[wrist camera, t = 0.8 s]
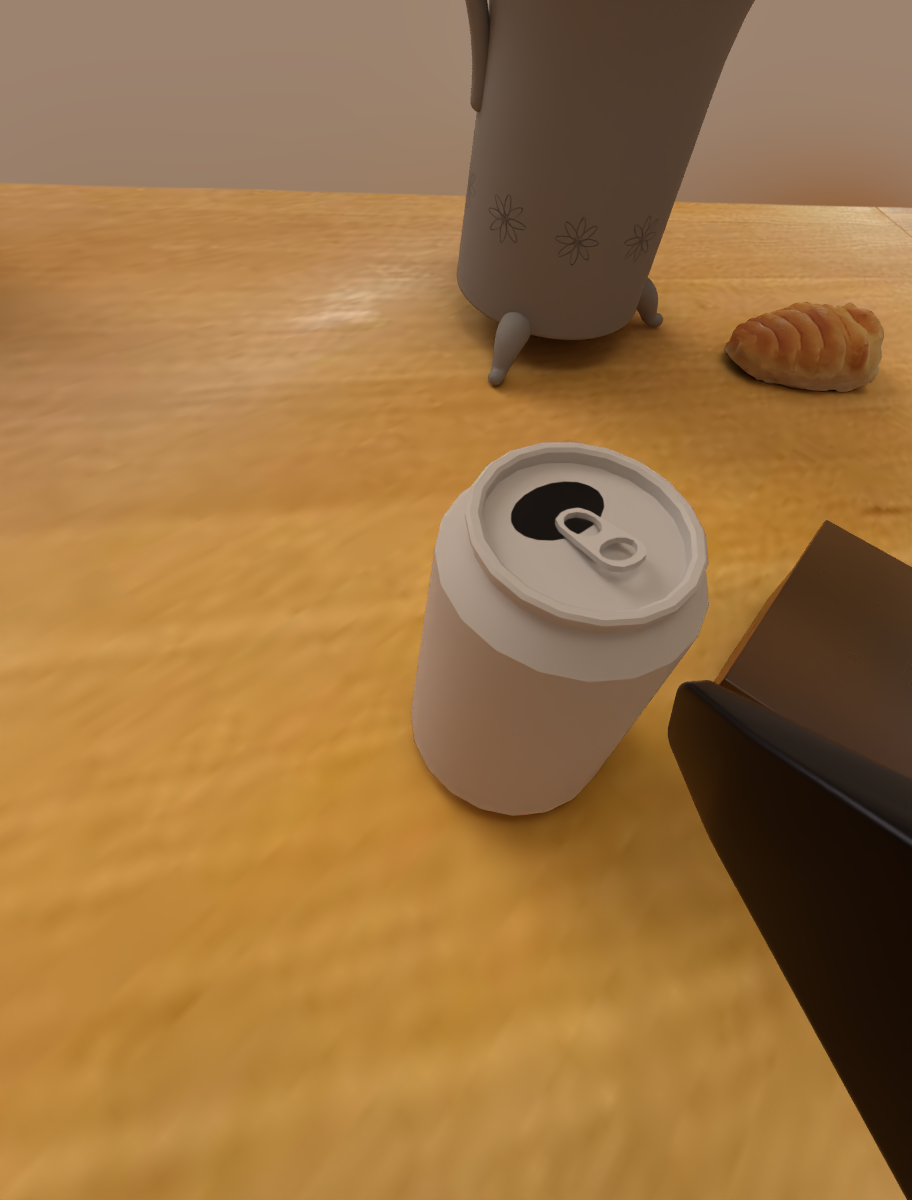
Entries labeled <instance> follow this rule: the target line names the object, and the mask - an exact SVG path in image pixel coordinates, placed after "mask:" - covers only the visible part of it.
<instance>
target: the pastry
mask: <svg viewBox="0 0 912 1200" xmlns="http://www.w3.org/2000/svg"><path fill="white" fill-rule="evenodd" d="M883 338H884V331H883V328H882V326H881V324H880V321H879V320H878V319H877V317H876V316H875V315H874V313H873V312H872V311H869V310H866V309H861V308H857V307H856V306H855V305H854V304H852V303H848V304H846V305H844V306H836V307H835V306H832V305H826V304H824V305H819V304H812V303H809V302H804V303H795V304H792V305H791V306H789V307H787V308H784V309H781V310H777V311H774V312H771V313H766V314H763V315H760V316H758V317H756V318H752V319H749V320H748V321H747V322H745V323H742V324H740V325H738V326H737V327H736V329H735V330H734V332H733V334H732V336H731V339H730V341H729V342H728V343H726V345H725V349H724V350H725V351H726V352H727V353H728V355H729V356H730V358H731V359H732V360H733V361H734V362H735V363H736V364H737V365H739V366H740V367H741V368H742V369H743V370H744V371H745V372H746V373H748V374H749V375H751V376H753V377H755V378H756V380H764V382H766V383H769V384H772V383H778V384H782V385H785V386H788V387H789V388H799V389H807V390H814V391H827V390H830V389H833V390H837V391H838V392H848V391H851V390H853V389H856V388H859V387H861V386H863V385H866V384H868V383H871V382H872V381H873V380H874V379H875V378H876V376H877V374H878V371H879V367H878V366H879V362H880V360H881V358H882V351H881V344H882V341H883Z"/></svg>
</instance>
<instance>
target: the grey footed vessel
mask: <svg viewBox="0 0 912 1200" xmlns="http://www.w3.org/2000/svg"><path fill="white" fill-rule="evenodd" d="M465 1H466V5H467V12H468V18H469V24H470V34H471V45H472V88H471V106H472V108H473V109H474V110H475V111H477V115H476V123H475V131H474V138H473V147H472V155H471V163H470V171H469V180H468V188H467V195H466V203H465V211H464V220H463V228H462V236H461V244H460V252H459V260H458V268H457V280H458V284H459V287H460V289H461V291H462V293H463V294H464V296H465V297H466V298H467V300H468V301H469V302H470V303H471V304H472V305H473V306H474V307H475V308H476V309H478V310H479V311H480V312H482V313H483V314H484V315H486V316H487V317H489V318H491V319H492V320H494V321H496V322H498V323H499V325H498V328H497V331H496V336H495V342H494V352H493V364H492V369H491V372H490V374H489V376H488V380H489V382H490V383H491V384H492V385H498V384H500V383H501V381H502V380H503V378H504V377H505V375H506V374H507V372H508V370H509V368H510V366H511V365H512V363H513V361H514V360H515V358H516V357H517V355H518V354H519V352H520V351H521V349H522V348H523V346H524V345H525V343H526V342H527V340H528V339H529V337H530V335H534V336H539V337H544V338H550V339H559V340H584V339H592V338H597V337H601V336H605V335H608V334H611V333H613V332H615V331H617V330H619V329H621V328H622V327H624V326H625V325H626V324H627V323H628V322H629V321H630V320H631V319H632V317H633V316H634V314H635V311H636V309H637V311H638V312H639V314H640V316H641V318H642V320H643V322H644V323H645V324H647V325H649V326H653V327H657V326H660V325H661V324H662V322H663V317H662V315H661V314H658V313H657V306H658V295H657V291H656V288H655V286H654V284H653V283H652V281H651V280H650V279H649V278H648V275H649V272H650V269H651V266H652V263H653V261H654V258H655V255H656V252H657V249H658V247H659V244H660V241H661V238H662V235H663V233H664V230H665V227H666V224H667V221H668V219H669V216H670V213H671V210H672V207H673V205H674V202H675V199H676V196H677V193H678V191H679V188H680V185H681V182H682V179H683V177H684V174H685V171H686V168H687V165H688V163H689V160H690V157H691V154H692V151H693V149H694V146H695V143H696V140H697V137H698V135H699V132H700V129H701V126H702V123H703V120H704V118H705V115H706V112H707V109H708V107H709V104H710V101H711V98H712V95H713V93H714V90H715V87H716V85H717V82H718V79H719V77H720V74H721V71H722V69H723V66H724V63H725V61H726V59H727V56H728V54H729V52H730V50H731V47H732V45H733V43H734V41H735V39H736V37H737V34H738V32H739V30H740V27H741V26H742V23H743V21H744V19H745V17H746V15H747V13H748V11H749V10H750V8H751V6H752V4H753V3H754V1H755V0H489V11H488V4H487V0H465Z"/></svg>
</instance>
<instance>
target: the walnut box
mask: <svg viewBox="0 0 912 1200" xmlns="http://www.w3.org/2000/svg"><path fill="white" fill-rule="evenodd" d="M714 682H715V683H717V684H719V685H721V686H723V687H725V688H727V689H729V690H731V691H733V692H735V693H737V694H739V695H741V696H743V697H745V698H747V699H749V700H752V701H754V702H756V703H758V704H760V705H762V706H764V707H766V708H768V709H770V710H772V711H774V712H776V713H778V714H780V715H782V716H784V717H786V718H789V719H791V720H793V721H795V722H797V723H799V724H801V725H803V726H805V727H807V728H809V729H811V730H813V731H815V732H817V733H819V734H821V735H823V736H826V737H828V738H830V739H832V740H834V741H836V742H838V743H840V744H842V745H844V746H846V747H848V748H850V749H852V750H854V751H856V752H858V753H860V754H863V755H865V756H867V757H869V758H871V759H873V760H875V761H877V762H879V763H881V764H883V765H885V766H887V767H889V768H891V769H893V770H895V771H897V772H900V773H902V774H904V775H906V776H908V777H910V778H912V567H910V566H909V565H907V564H905V563H903V562H901V561H900V560H898V559H896V558H894V557H892V556H891V555H889V554H887V553H885V552H883V551H882V550H880V549H878V548H876V547H874V546H873V545H871V544H869V543H867V542H866V541H864V540H862V539H860V538H858V537H857V536H855V535H853V534H851V533H849V532H848V531H846V530H844V529H842V528H840V527H839V526H837V525H835V524H833V523H831V522H830V521H828V520H826V521H825V522H824V523H823V524H822V526H821V527H820V528H819V530H818V531H817V533H816V534H815V536H814V537H813V539H812V540H811V542H810V543H809V545H808V547H807V548H806V550H805V551H804V553H803V554H802V556H801V557H800V559H799V560H798V562H797V563H796V565H795V567H794V568H793V569H792V571H791V572H790V573H789V574H788V575H787V577H786V578H785V579H784V580H783V581H782V583H781V584H780V585H779V586H778V587H777V589H776V590H775V591H774V592H773V594H772V595H771V596H770V597H769V598H768V600H767V601H766V603H765V605H764V606H763V608H762V609H761V611H760V612H759V614H758V615H757V617H756V618H755V620H754V621H753V623H752V624H751V626H750V627H749V629H748V631H747V632H746V634H745V635H744V637H743V638H742V640H741V641H740V643H739V644H738V646H737V647H736V649H735V650H734V652H733V653H732V655H731V656H730V658H729V660H728V661H727V663H726V664H725V666H724V667H723V669H722V670H721V672H720V673H719V675H718V676H717V678H716V679H715V681H714Z"/></svg>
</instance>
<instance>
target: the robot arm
mask: <svg viewBox="0 0 912 1200" xmlns="http://www.w3.org/2000/svg"><path fill="white" fill-rule="evenodd" d="M668 739H669V743H670V746H671V749H672V751H673V753H674V756H675V758H676V761H677V763H678V765H679V768H680V770H681V773H682V775H683V777H684V780H685V782H686V785H687V787H688V789H689V792H690V794H691V796H692V799H693V801H694V804H695V806H696V808H697V811H698V813H699V816H700V818H701V820H702V823H703V825H704V827H705V829H706V832H707V834H708V836H709V838H710V840H711V842H712V844H713V846H714V848H715V850H716V852H717V854H718V855H719V857H720V859H721V861H722V863H723V865H724V866H725V868H726V870H727V872H728V874H729V875H730V877H731V879H732V881H733V883H734V885H735V886H736V888H737V890H738V892H739V894H740V896H741V897H742V899H743V901H744V903H745V905H746V907H747V908H748V910H749V912H750V914H751V916H752V918H753V919H754V921H755V923H756V925H757V927H758V928H759V930H760V932H761V934H762V936H763V938H764V939H765V941H766V943H767V945H768V947H769V949H770V950H771V952H772V954H773V956H774V958H775V960H776V961H777V963H778V965H779V967H780V969H781V971H782V972H783V974H784V976H785V978H786V980H787V981H788V983H789V985H790V987H791V989H792V991H793V992H794V994H795V996H796V998H797V1000H798V1002H799V1003H800V1005H801V1007H802V1009H803V1011H804V1013H805V1014H806V1016H807V1018H808V1020H809V1022H810V1023H811V1025H812V1027H813V1029H814V1031H815V1033H816V1034H817V1036H818V1038H819V1040H820V1042H821V1044H822V1045H823V1047H824V1049H825V1051H826V1053H827V1055H828V1056H829V1058H830V1060H831V1062H832V1064H833V1066H834V1067H835V1069H836V1071H837V1073H838V1075H839V1076H840V1078H841V1080H842V1082H843V1084H844V1086H845V1087H846V1089H847V1091H848V1093H849V1095H850V1097H851V1098H852V1100H853V1102H854V1104H855V1106H856V1108H857V1109H858V1111H859V1113H860V1115H861V1117H862V1118H863V1120H864V1122H865V1124H866V1126H867V1128H868V1129H869V1131H870V1133H871V1135H872V1137H873V1139H874V1140H875V1142H876V1144H877V1146H878V1148H879V1150H880V1151H881V1153H882V1155H883V1157H884V1159H885V1161H886V1162H887V1164H888V1166H889V1168H890V1170H891V1171H892V1173H893V1175H894V1177H895V1179H896V1181H897V1182H898V1184H899V1186H900V1188H901V1190H902V1192H903V1193H904V1195H905V1197H906V1199H907V1200H912V778H910V777H908V776H906V775H904V774H902V773H900V772H897V771H895V770H893V769H891V768H889V767H887V766H885V765H883V764H881V763H879V762H877V761H875V760H873V759H871V758H869V757H867V756H865V755H863V754H860V753H858V752H856V751H854V750H852V749H850V748H848V747H846V746H844V745H842V744H840V743H838V742H836V741H834V740H832V739H830V738H828V737H826V736H823V735H821V734H819V733H817V732H815V731H813V730H811V729H809V728H807V727H805V726H803V725H801V724H799V723H797V722H795V721H793V720H791V719H789V718H786V717H784V716H782V715H780V714H778V713H776V712H774V711H772V710H770V709H768V708H766V707H764V706H762V705H760V704H758V703H756V702H754V701H752V700H749V699H747V698H745V697H743V696H741V695H739V694H737V693H735V692H733V691H731V690H729V689H727V688H725V687H723V686H721V685H719V684H717V683H715V682H712V681H708V680H703V681H691V682H684V683H683V684H681V685H680V686H679V688H678V690H677V693H676V697H675V701H674V705H673V710H672V714H671V718H670V722H669V726H668Z"/></svg>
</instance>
